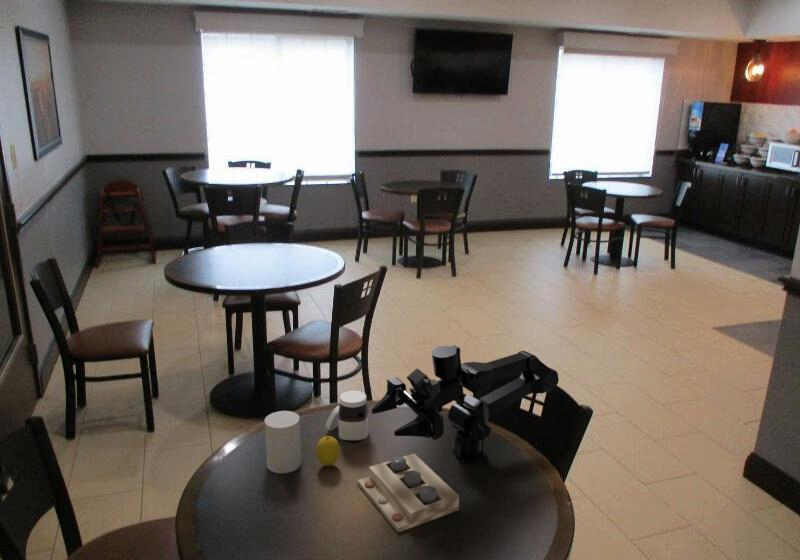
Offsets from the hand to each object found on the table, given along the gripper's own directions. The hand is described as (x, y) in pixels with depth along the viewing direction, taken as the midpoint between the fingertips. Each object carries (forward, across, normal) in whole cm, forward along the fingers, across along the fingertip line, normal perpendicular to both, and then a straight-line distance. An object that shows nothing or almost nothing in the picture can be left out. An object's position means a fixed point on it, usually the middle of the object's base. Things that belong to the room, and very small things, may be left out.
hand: (383, 422), depth 136 cm
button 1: (-2, +1, +14) cm, 14 cm away
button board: (0, +8, +16) cm, 18 cm away
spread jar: (-1, -22, +20) cm, 30 cm away
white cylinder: (+18, -19, +16) cm, 31 cm away
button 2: (-1, +14, +12) cm, 19 cm away
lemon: (+10, -12, +17) cm, 23 cm away
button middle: (-1, +8, +13) cm, 15 cm away
